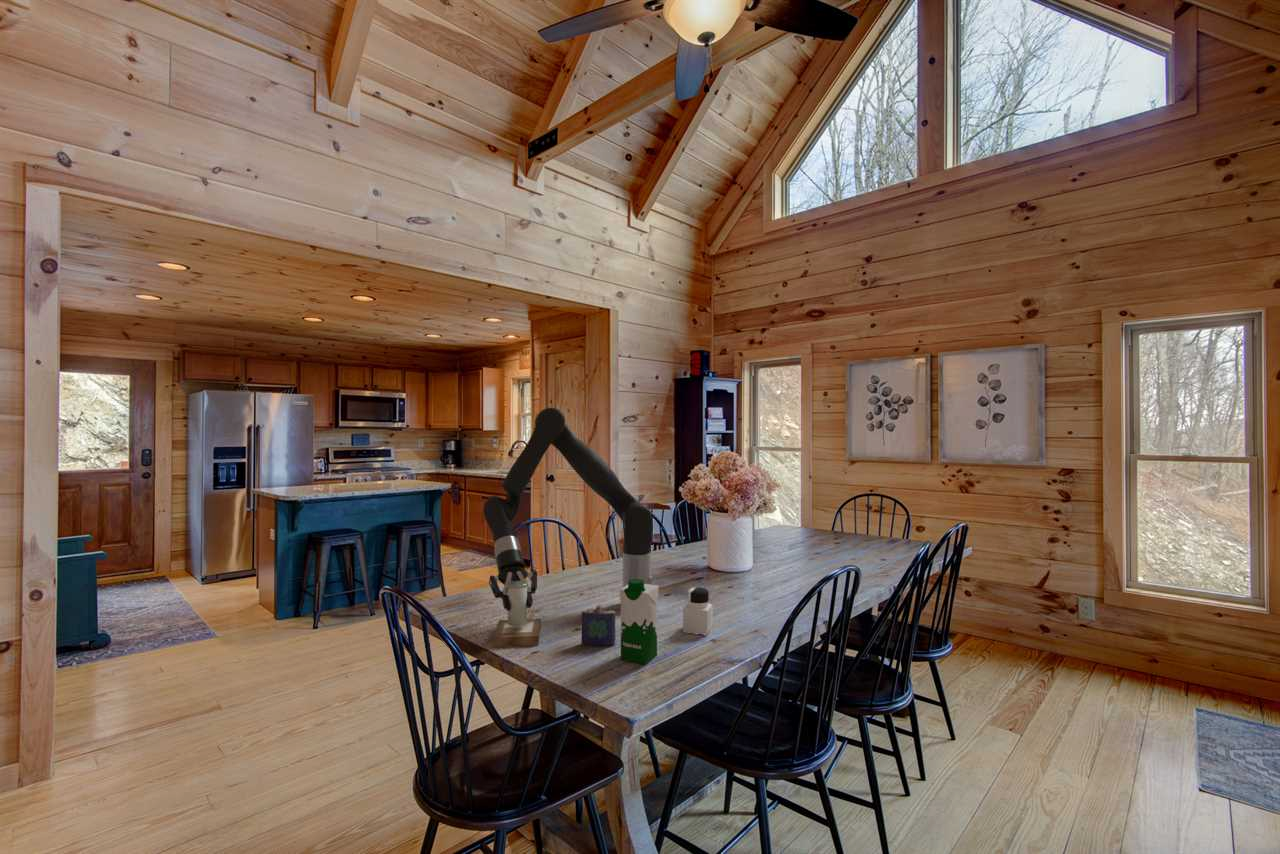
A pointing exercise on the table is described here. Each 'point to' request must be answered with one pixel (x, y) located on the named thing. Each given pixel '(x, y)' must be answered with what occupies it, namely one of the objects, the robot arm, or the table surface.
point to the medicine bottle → (698, 612)
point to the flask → (598, 627)
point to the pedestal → (517, 633)
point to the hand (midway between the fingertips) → (519, 607)
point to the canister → (517, 603)
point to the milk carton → (638, 621)
